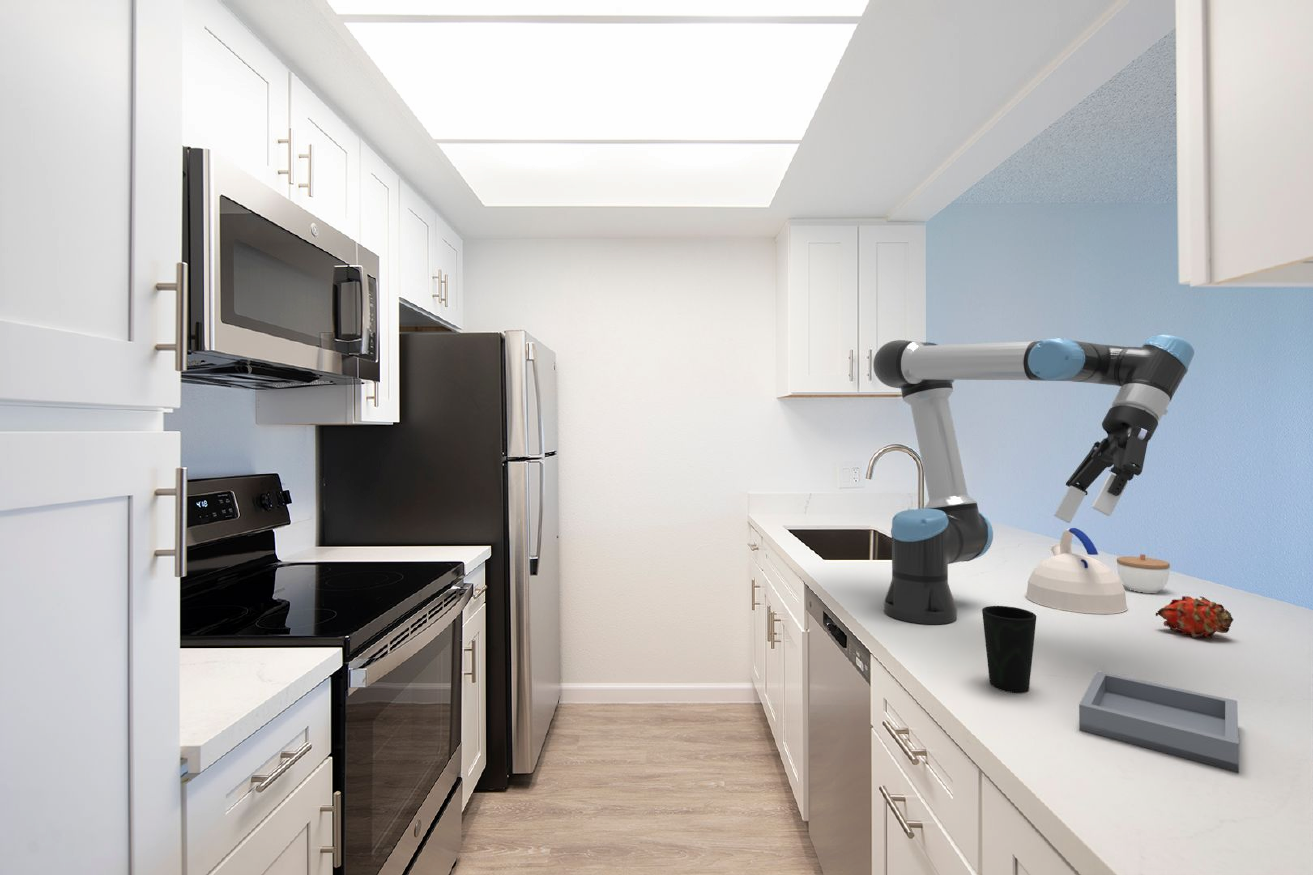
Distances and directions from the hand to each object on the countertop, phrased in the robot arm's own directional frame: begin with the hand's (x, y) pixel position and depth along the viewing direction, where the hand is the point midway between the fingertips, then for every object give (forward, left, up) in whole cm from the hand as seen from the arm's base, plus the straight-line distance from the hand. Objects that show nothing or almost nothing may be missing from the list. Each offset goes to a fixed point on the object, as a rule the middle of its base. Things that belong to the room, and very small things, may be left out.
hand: (1080, 515), depth 107 cm
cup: (-7, -18, -27) cm, 33 cm away
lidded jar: (+3, +71, -27) cm, 76 cm away
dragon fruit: (+14, +34, -27) cm, 46 cm away
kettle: (-8, +47, -27) cm, 55 cm away
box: (+12, -20, -26) cm, 35 cm away
